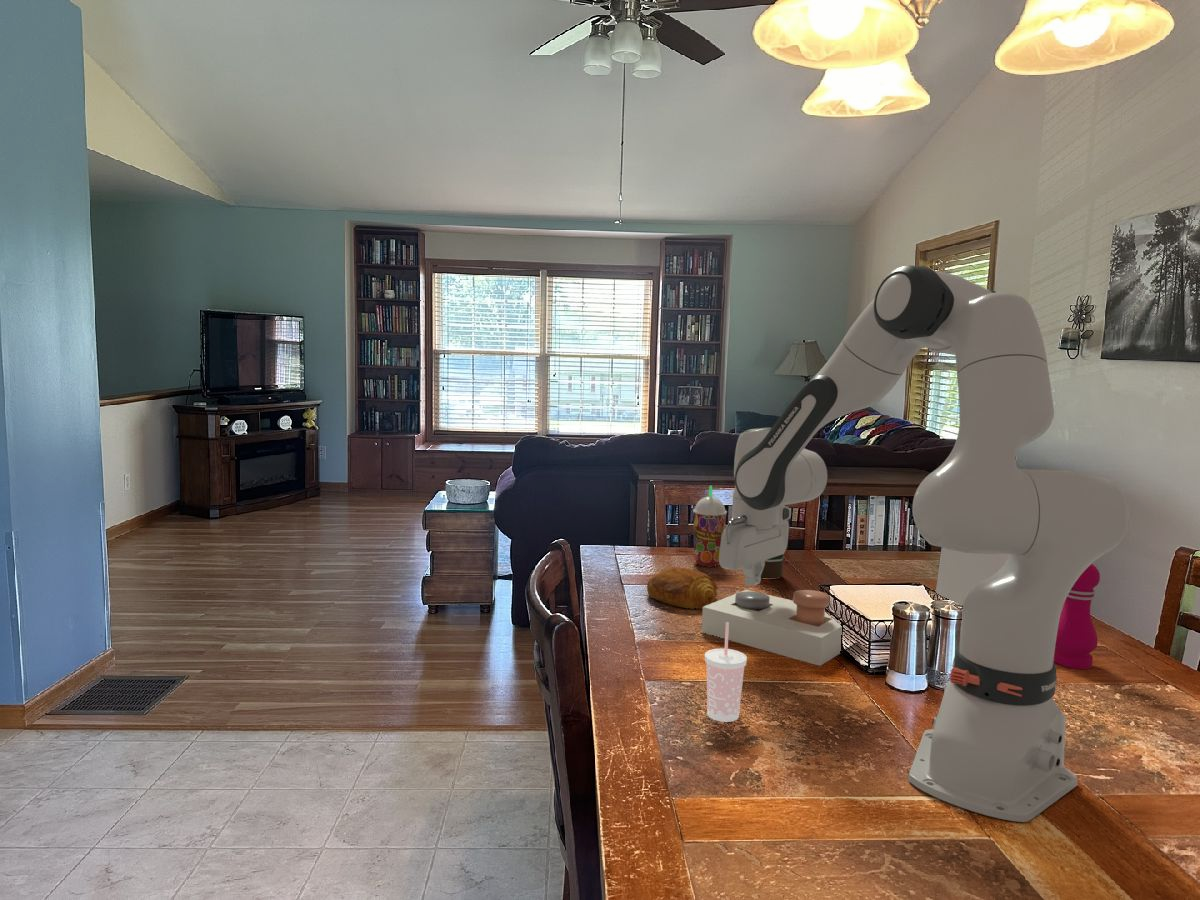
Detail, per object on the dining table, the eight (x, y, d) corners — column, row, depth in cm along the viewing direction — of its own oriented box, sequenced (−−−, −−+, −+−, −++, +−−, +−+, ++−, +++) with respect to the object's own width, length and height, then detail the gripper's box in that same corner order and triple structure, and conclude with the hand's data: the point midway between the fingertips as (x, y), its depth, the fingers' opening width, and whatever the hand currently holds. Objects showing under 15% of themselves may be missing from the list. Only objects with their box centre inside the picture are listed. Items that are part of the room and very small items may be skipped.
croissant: (686, 625, 167) (690, 589, 165) (634, 596, 178) (638, 562, 176) (732, 610, 176) (737, 575, 174) (680, 583, 187) (684, 551, 185)
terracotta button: (818, 638, 146) (820, 602, 145) (785, 629, 150) (787, 594, 149) (833, 629, 151) (835, 594, 150) (801, 621, 155) (803, 587, 154)
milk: (931, 620, 167) (941, 494, 164) (952, 608, 175) (962, 488, 172) (994, 635, 159) (1005, 502, 156) (1012, 621, 167) (1024, 496, 164)
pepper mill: (1101, 672, 141) (1113, 558, 139) (1056, 668, 142) (1066, 555, 140) (1086, 657, 148) (1096, 548, 146) (1042, 653, 149) (1052, 546, 147)
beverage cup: (694, 709, 122) (698, 618, 120) (729, 703, 125) (733, 614, 123) (715, 727, 117) (720, 631, 115) (752, 720, 119) (757, 627, 117)
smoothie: (689, 567, 203) (693, 487, 201) (691, 559, 211) (694, 482, 209) (724, 569, 202) (727, 489, 199) (724, 561, 210) (728, 484, 208)
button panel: (819, 665, 141) (821, 637, 140) (701, 632, 156) (702, 606, 155) (857, 642, 153) (859, 616, 152) (744, 613, 168) (745, 589, 167)
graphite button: (757, 637, 154) (759, 603, 153) (727, 629, 158) (729, 596, 157) (773, 629, 159) (775, 596, 158) (744, 621, 163) (746, 589, 162)
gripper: (742, 522, 145) (739, 598, 147) (795, 508, 161) (792, 577, 162) (712, 517, 149) (709, 592, 151) (766, 504, 165) (763, 572, 166)
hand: (752, 584), depth 157 cm, fingers closed
